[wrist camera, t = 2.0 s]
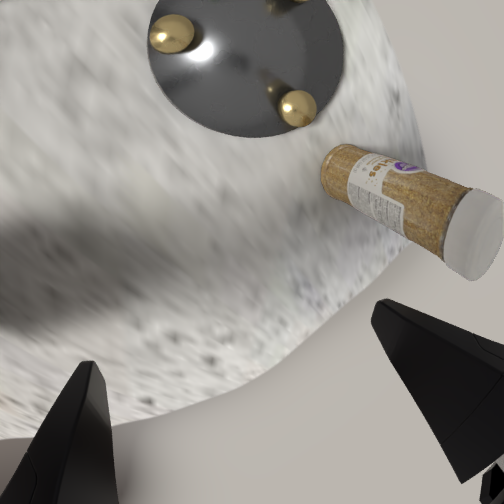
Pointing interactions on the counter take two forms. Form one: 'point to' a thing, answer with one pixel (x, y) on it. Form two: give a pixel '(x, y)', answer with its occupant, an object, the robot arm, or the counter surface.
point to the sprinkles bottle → (419, 207)
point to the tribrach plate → (246, 62)
